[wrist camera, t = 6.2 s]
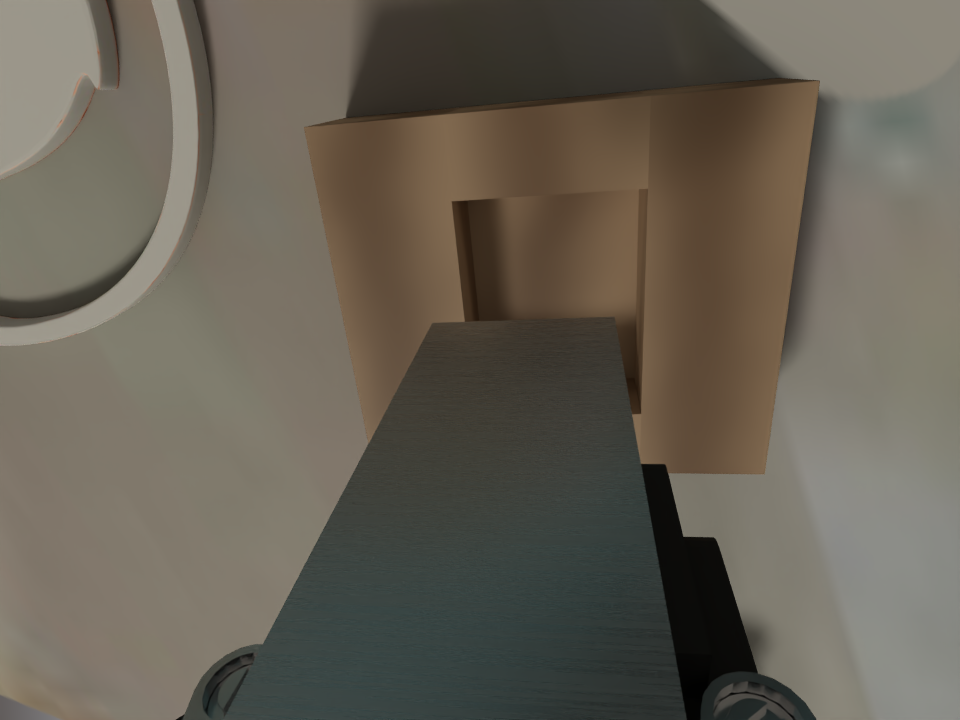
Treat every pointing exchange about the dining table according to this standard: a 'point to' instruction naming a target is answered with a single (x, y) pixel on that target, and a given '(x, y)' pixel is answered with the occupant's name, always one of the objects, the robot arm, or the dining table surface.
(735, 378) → the well block
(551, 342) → the grey rectangular prism
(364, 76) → the dining table surface
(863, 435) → the dining table surface
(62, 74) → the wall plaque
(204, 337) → the dining table surface
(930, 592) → the dining table surface
